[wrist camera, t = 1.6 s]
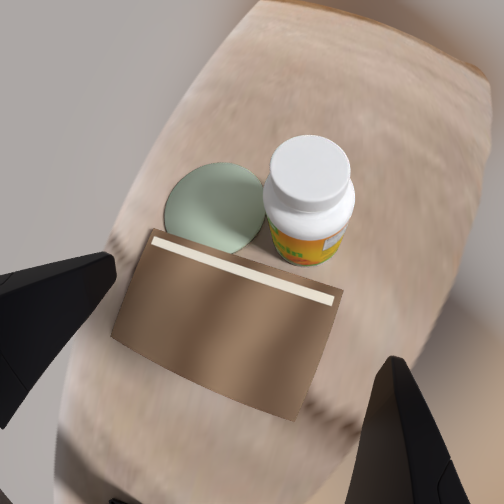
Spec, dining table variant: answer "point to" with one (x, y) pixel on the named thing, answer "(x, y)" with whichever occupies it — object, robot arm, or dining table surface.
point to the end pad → (217, 207)
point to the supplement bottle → (308, 199)
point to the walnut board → (227, 322)
